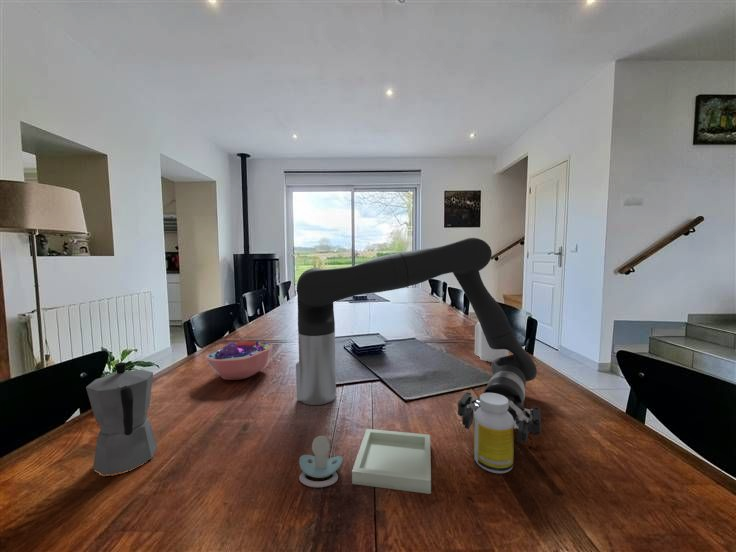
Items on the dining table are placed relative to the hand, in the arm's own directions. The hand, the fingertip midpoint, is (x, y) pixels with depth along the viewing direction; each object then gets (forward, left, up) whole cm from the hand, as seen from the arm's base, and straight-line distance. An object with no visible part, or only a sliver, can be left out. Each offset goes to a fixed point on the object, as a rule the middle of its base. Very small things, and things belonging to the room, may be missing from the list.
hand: (492, 430), depth 53 cm
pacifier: (-28, -7, -7) cm, 30 cm away
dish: (-17, -2, -7) cm, 18 cm away
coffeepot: (-64, -10, -7) cm, 65 cm away
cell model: (-67, +30, -7) cm, 73 cm away
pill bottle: (0, +1, -7) cm, 7 cm away
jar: (+11, +60, -7) cm, 62 cm away
